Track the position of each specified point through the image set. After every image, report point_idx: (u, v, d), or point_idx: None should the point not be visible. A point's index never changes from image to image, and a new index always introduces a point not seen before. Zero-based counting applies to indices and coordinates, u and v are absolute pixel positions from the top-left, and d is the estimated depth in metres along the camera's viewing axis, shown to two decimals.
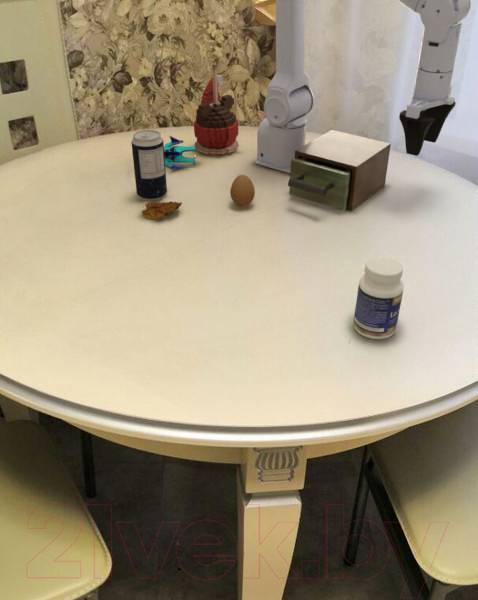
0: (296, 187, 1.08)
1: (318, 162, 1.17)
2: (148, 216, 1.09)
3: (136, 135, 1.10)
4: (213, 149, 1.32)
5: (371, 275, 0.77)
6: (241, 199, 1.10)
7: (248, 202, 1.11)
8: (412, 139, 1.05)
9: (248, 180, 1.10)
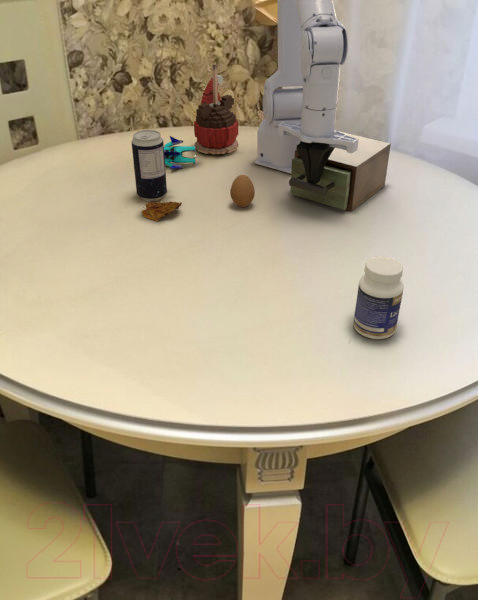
0: (297, 186, 1.08)
1: None
2: (148, 216, 1.09)
3: (136, 135, 1.10)
4: (213, 149, 1.32)
5: (371, 275, 0.77)
6: (241, 199, 1.10)
7: (248, 202, 1.11)
8: None
9: (248, 180, 1.10)
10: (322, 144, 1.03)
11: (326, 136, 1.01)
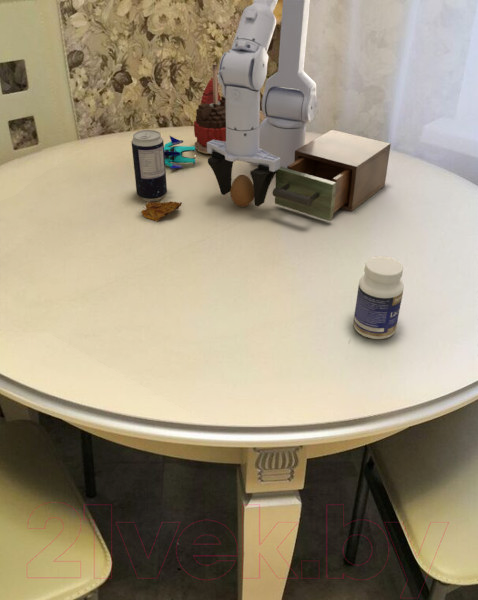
0: (281, 197, 1.05)
1: (305, 170, 1.14)
2: (148, 216, 1.09)
3: (136, 135, 1.10)
4: None
5: (371, 275, 0.77)
6: (241, 199, 1.10)
7: (248, 202, 1.11)
8: None
9: (248, 180, 1.10)
10: (263, 167, 1.05)
11: (249, 155, 1.05)
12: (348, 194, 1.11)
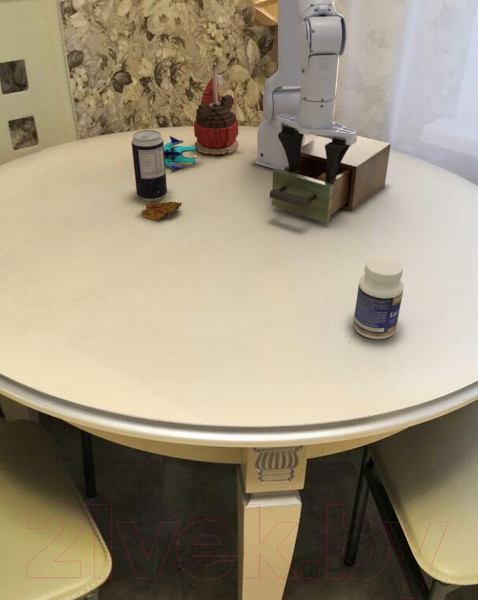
0: (278, 199, 1.04)
1: (302, 172, 1.13)
2: (148, 216, 1.09)
3: (136, 135, 1.10)
4: (213, 149, 1.32)
5: (371, 275, 0.77)
6: None
7: None
8: None
9: None
10: (338, 140, 1.00)
11: (325, 128, 1.00)
12: (346, 196, 1.10)
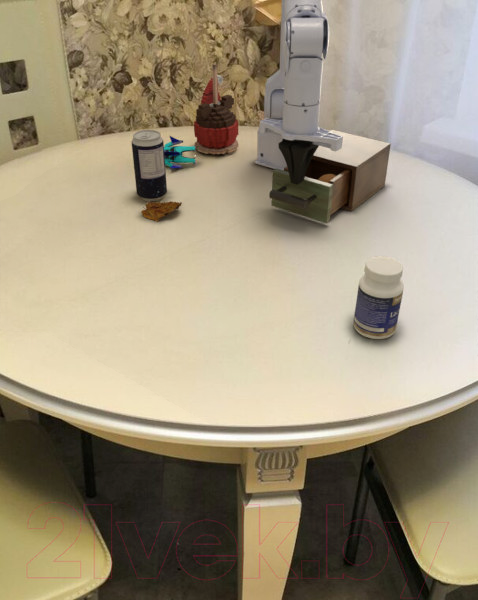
0: (277, 199, 1.04)
1: None
2: (148, 216, 1.09)
3: (136, 135, 1.10)
4: (213, 149, 1.32)
5: (371, 275, 0.77)
6: None
7: None
8: None
9: None
10: (305, 142, 0.98)
11: (309, 133, 0.97)
12: (345, 196, 1.10)
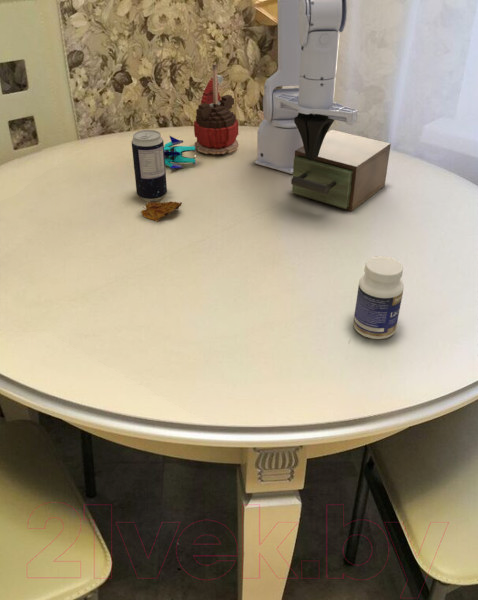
0: (299, 185, 1.09)
1: None
2: (148, 216, 1.09)
3: (136, 135, 1.10)
4: (213, 149, 1.32)
5: (371, 275, 0.77)
6: None
7: None
8: None
9: None
10: (321, 116, 1.00)
11: (325, 107, 0.98)
12: None
